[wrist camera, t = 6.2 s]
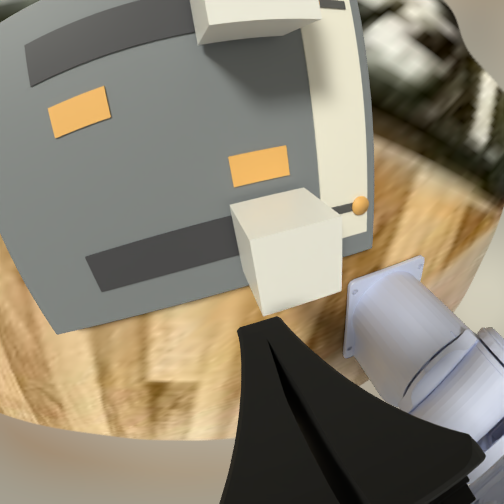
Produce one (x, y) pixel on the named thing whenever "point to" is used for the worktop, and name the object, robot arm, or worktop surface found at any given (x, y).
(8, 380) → the worktop surface
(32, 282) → the switch unit
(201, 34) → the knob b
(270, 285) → the white cube
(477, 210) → the worktop surface
